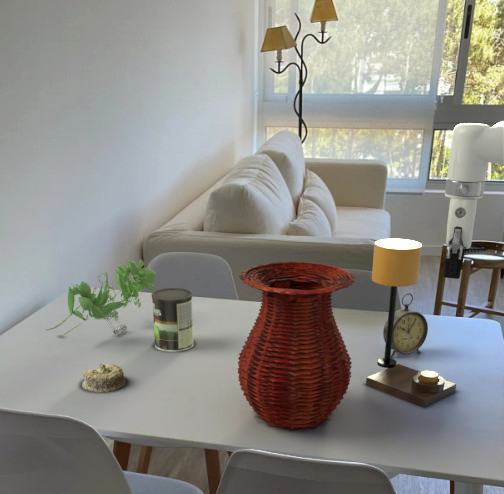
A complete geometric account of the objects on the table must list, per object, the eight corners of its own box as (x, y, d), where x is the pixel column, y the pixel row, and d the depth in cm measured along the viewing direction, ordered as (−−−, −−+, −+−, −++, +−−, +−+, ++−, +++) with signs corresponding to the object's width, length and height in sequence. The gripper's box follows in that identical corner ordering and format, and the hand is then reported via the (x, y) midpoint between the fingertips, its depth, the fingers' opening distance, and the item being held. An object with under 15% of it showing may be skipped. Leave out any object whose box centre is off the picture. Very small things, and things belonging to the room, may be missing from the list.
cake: (134, 386, 163) (134, 365, 160) (98, 400, 156) (97, 378, 154) (109, 371, 168) (108, 350, 166) (73, 383, 162) (71, 362, 159)
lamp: (417, 365, 163) (431, 244, 151) (391, 376, 157) (403, 251, 145) (382, 353, 170) (393, 236, 158) (356, 363, 164) (365, 243, 152)
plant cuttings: (57, 376, 183) (110, 337, 171) (18, 321, 181) (69, 277, 169) (130, 333, 212) (180, 297, 200) (97, 285, 210) (146, 246, 198)
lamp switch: (441, 381, 156) (442, 374, 155) (430, 386, 154) (431, 378, 153) (426, 375, 159) (426, 368, 158) (415, 380, 156) (416, 373, 155)
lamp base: (455, 392, 159) (457, 376, 157) (424, 408, 152) (426, 391, 150) (397, 372, 170) (398, 356, 168) (365, 385, 162) (366, 370, 160)
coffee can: (158, 354, 179) (155, 301, 173) (151, 341, 188) (148, 289, 182) (198, 350, 182) (196, 297, 176) (189, 337, 191) (187, 286, 184)
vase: (261, 384, 162) (263, 255, 149) (361, 402, 154) (372, 267, 141) (218, 428, 143) (216, 284, 130) (329, 450, 135) (339, 299, 122)
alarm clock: (389, 361, 175) (395, 298, 168) (377, 354, 180) (383, 292, 173) (426, 355, 179) (433, 293, 172) (413, 348, 184) (420, 287, 177)
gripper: (482, 197, 134) (469, 284, 142) (485, 184, 149) (473, 263, 157) (442, 194, 137) (431, 280, 144) (448, 182, 151) (438, 260, 159)
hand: (453, 271), depth 150 cm, fingers open, 9 cm apart
